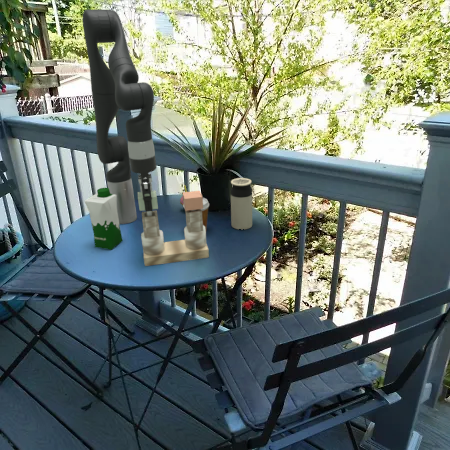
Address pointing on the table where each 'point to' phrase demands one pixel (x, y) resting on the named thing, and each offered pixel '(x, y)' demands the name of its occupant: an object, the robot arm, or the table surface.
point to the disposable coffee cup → (204, 212)
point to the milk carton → (104, 219)
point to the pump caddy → (174, 250)
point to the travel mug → (241, 203)
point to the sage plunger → (154, 200)
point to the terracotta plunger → (192, 200)
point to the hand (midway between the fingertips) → (148, 206)
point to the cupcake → (182, 196)
